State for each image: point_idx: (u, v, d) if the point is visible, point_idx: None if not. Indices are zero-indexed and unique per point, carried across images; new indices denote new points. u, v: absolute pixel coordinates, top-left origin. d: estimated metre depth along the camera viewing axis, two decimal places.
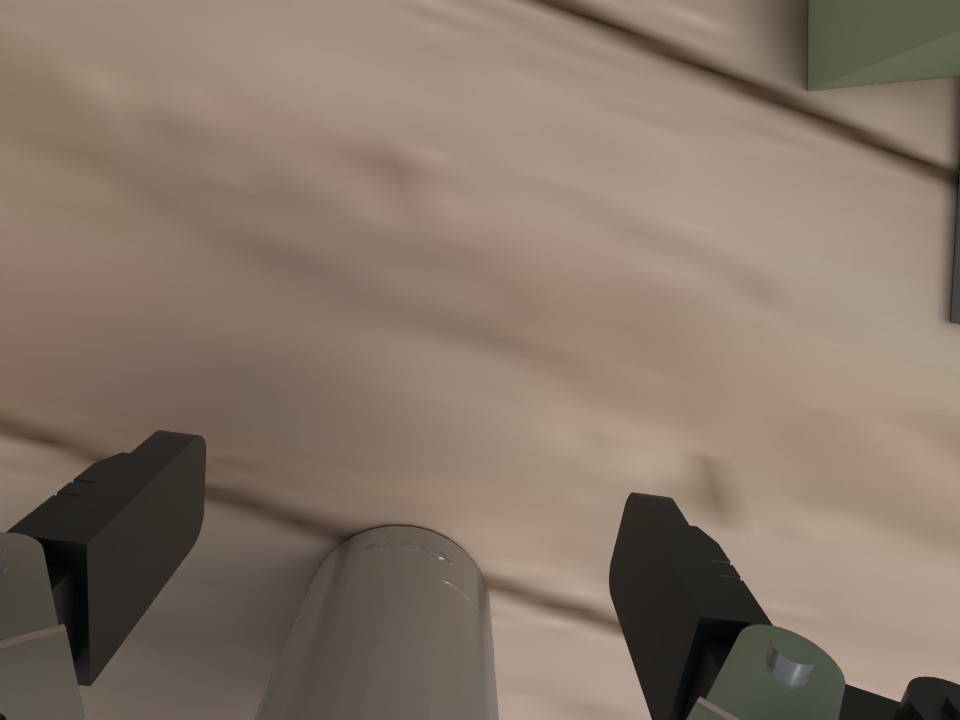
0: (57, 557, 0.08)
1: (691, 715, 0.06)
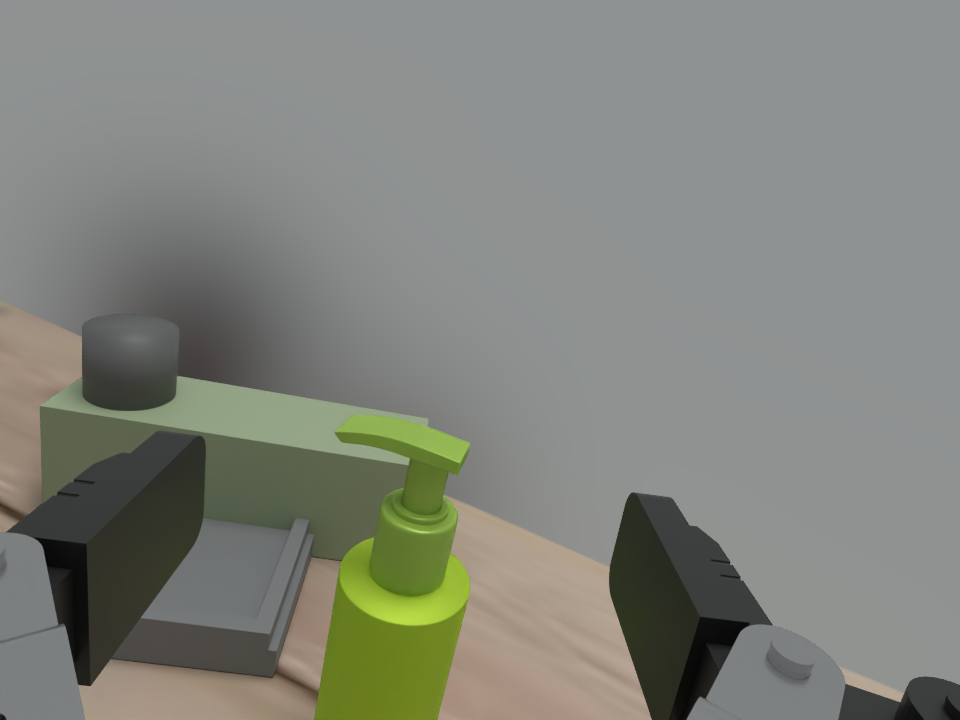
0: (57, 557, 0.08)
1: (691, 715, 0.06)
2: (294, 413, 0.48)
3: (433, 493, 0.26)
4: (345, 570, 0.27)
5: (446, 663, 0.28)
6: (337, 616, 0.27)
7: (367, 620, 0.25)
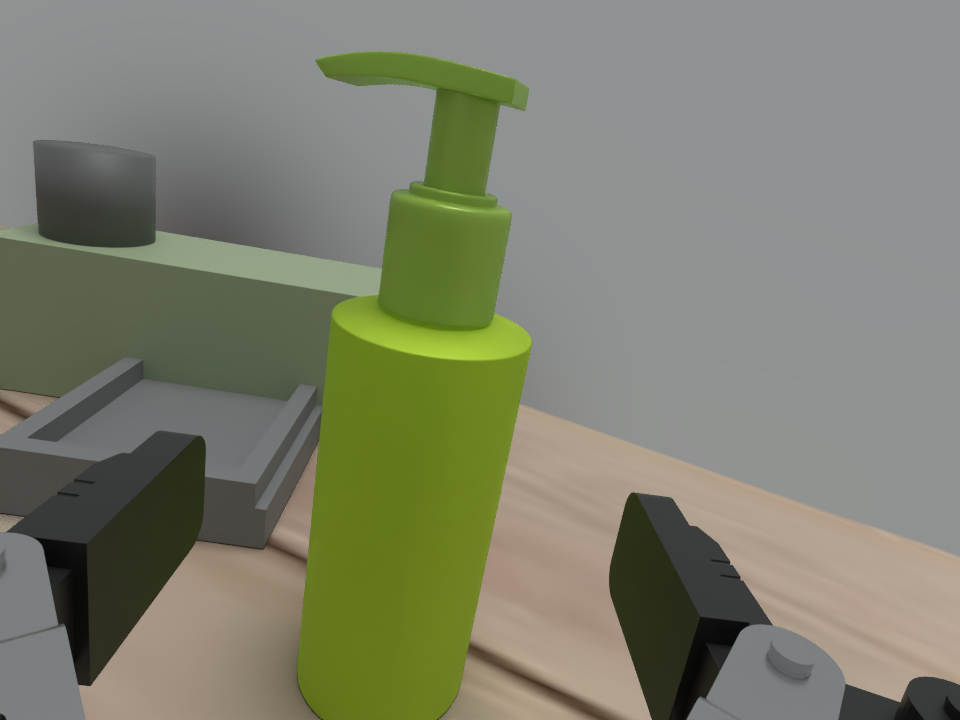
0: (57, 557, 0.08)
1: (691, 715, 0.06)
2: (298, 265, 0.39)
3: (473, 153, 0.16)
4: (341, 308, 0.18)
5: (498, 453, 0.18)
6: (330, 372, 0.17)
7: (373, 354, 0.16)
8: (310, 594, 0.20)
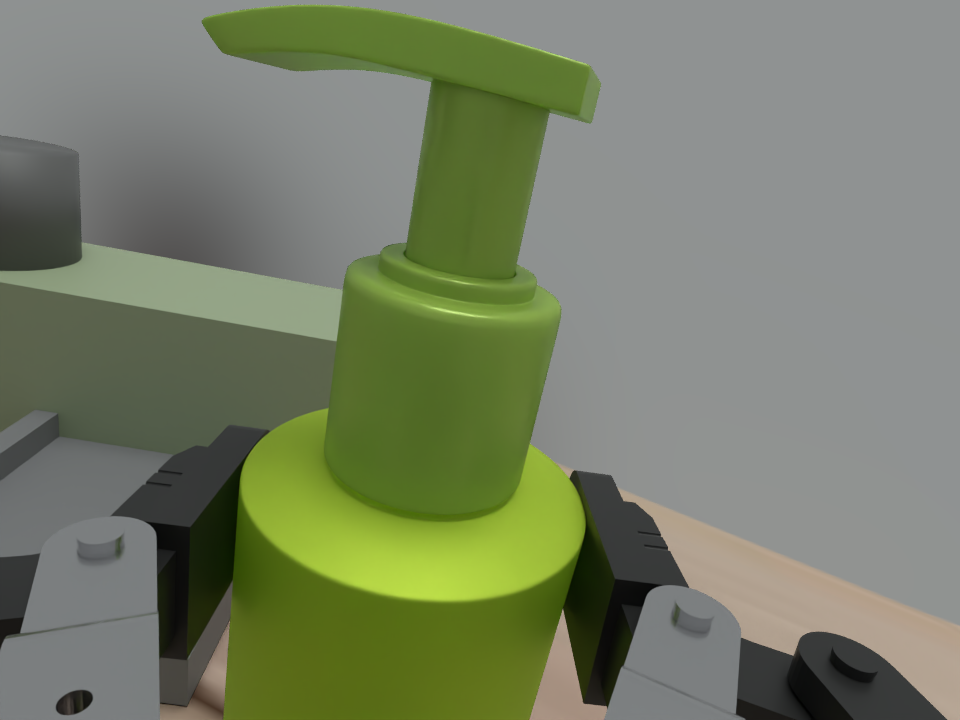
0: (162, 539, 0.08)
1: (617, 686, 0.06)
2: (260, 291, 0.32)
3: (497, 206, 0.09)
4: (261, 458, 0.10)
5: (526, 706, 0.11)
6: (235, 577, 0.10)
7: (301, 585, 0.08)
8: None
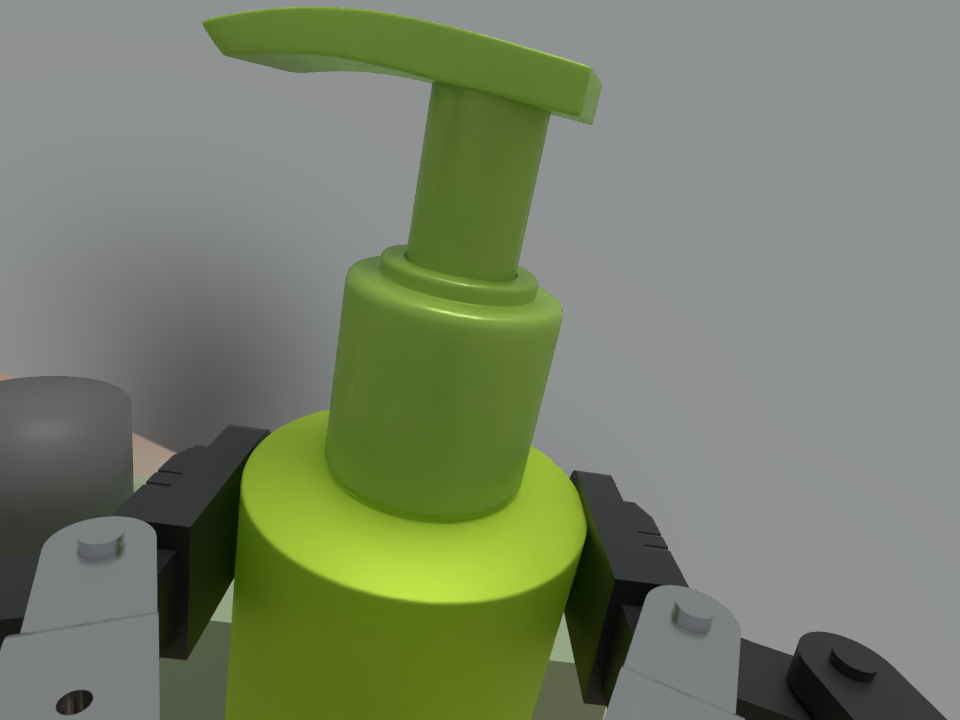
0: (162, 539, 0.08)
1: (617, 686, 0.06)
2: None
3: (498, 207, 0.09)
4: (262, 460, 0.10)
5: (528, 708, 0.11)
6: (236, 579, 0.10)
7: (302, 587, 0.08)
8: None
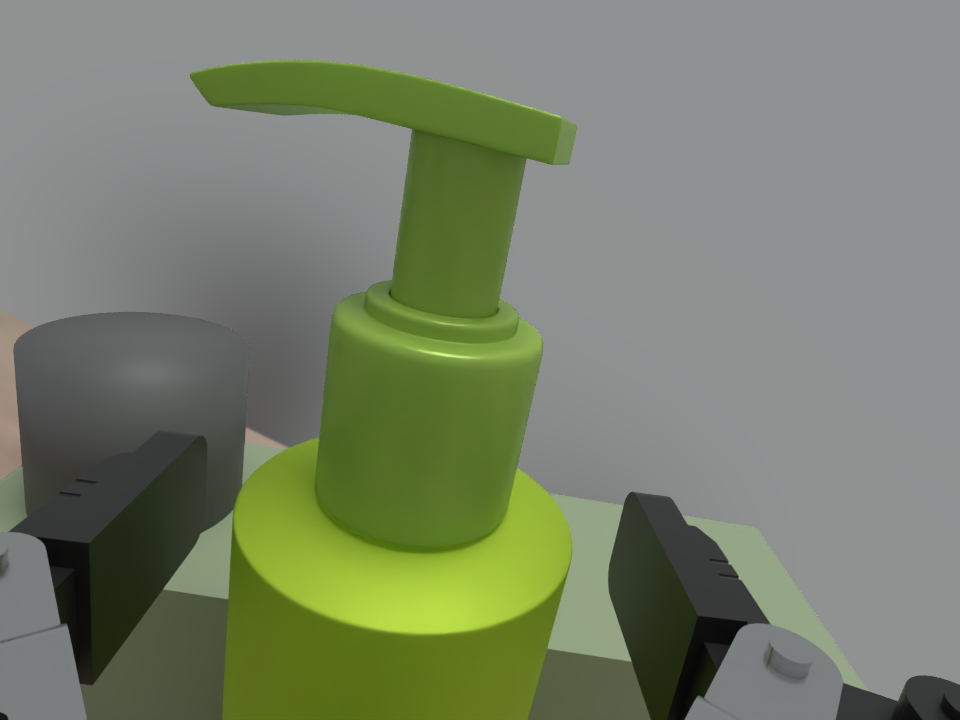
0: (60, 556, 0.08)
1: (689, 715, 0.06)
2: None
3: (478, 248, 0.09)
4: (253, 491, 0.11)
5: None
6: (229, 610, 0.10)
7: (292, 620, 0.09)
8: None
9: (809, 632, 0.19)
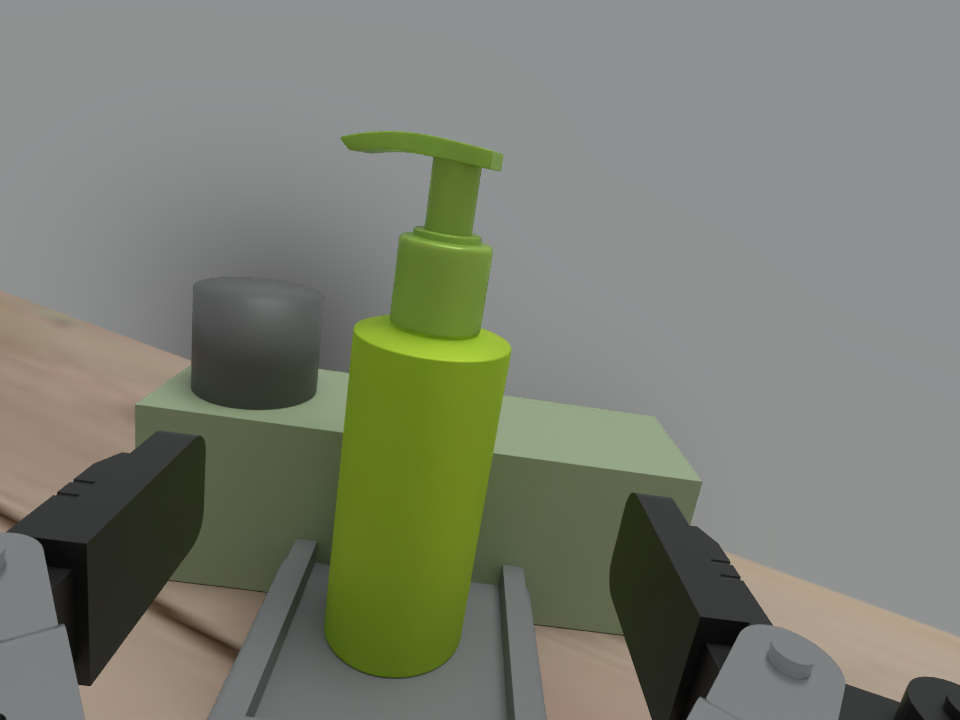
0: (57, 557, 0.08)
1: (691, 715, 0.06)
2: None
3: (462, 205, 0.21)
4: (361, 325, 0.23)
5: (487, 436, 0.23)
6: (353, 376, 0.22)
7: (389, 360, 0.21)
8: (337, 559, 0.24)
9: (673, 457, 0.31)
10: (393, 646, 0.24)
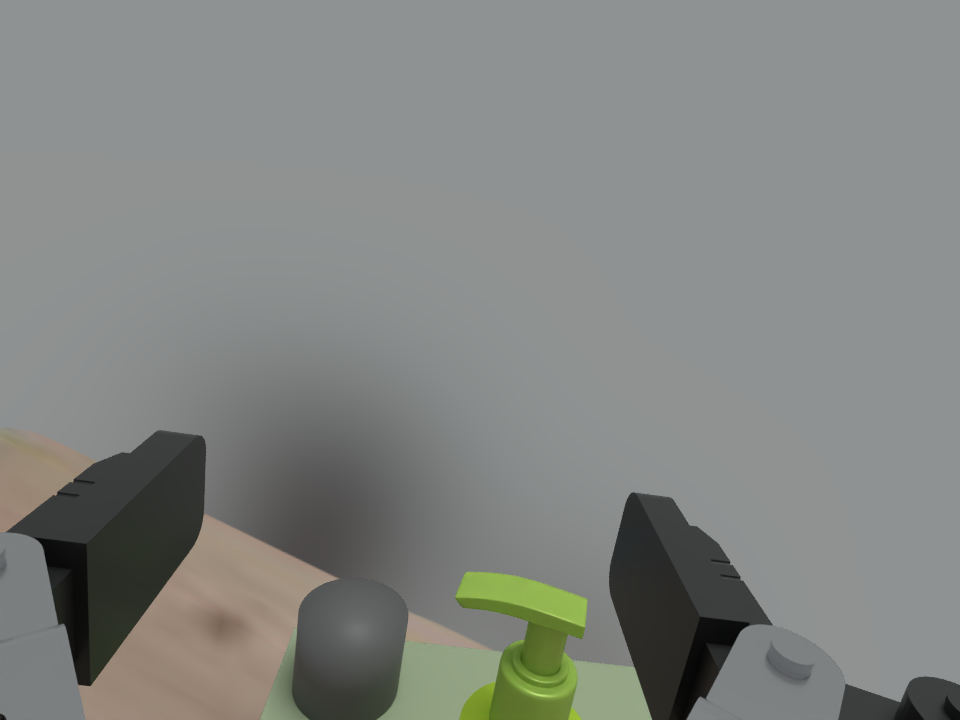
0: (57, 557, 0.08)
1: (691, 715, 0.06)
2: None
3: (556, 654, 0.26)
4: None
5: None
6: None
7: None
8: None
9: None
10: None
